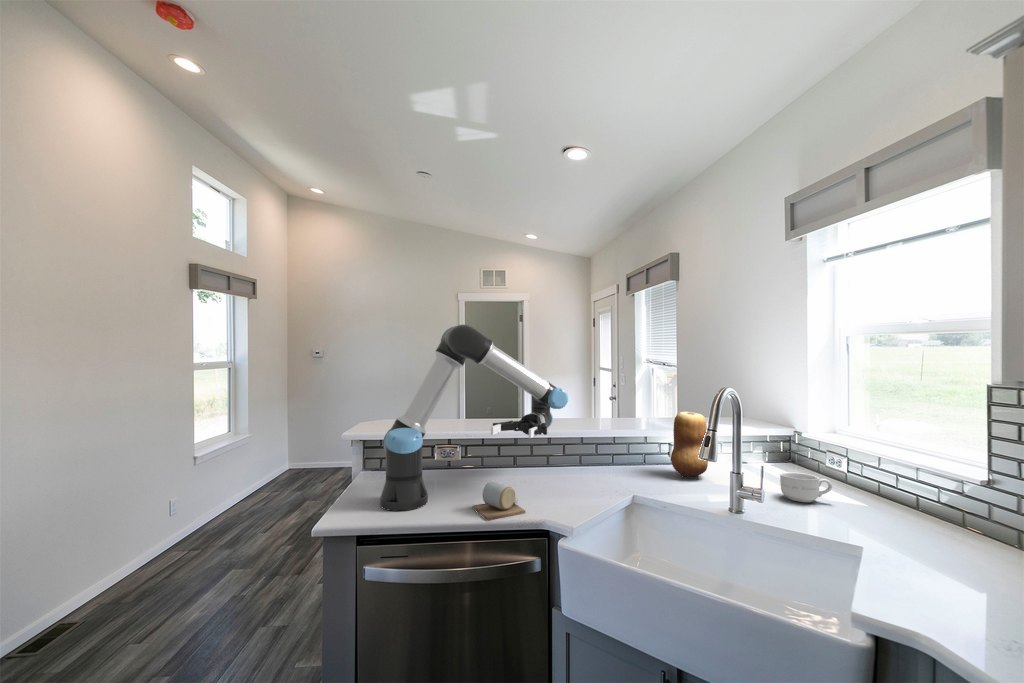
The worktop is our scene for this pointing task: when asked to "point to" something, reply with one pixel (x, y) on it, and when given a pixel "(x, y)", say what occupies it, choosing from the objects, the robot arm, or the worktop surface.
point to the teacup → (802, 486)
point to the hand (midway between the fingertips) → (510, 432)
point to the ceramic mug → (499, 495)
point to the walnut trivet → (497, 511)
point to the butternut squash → (688, 444)
